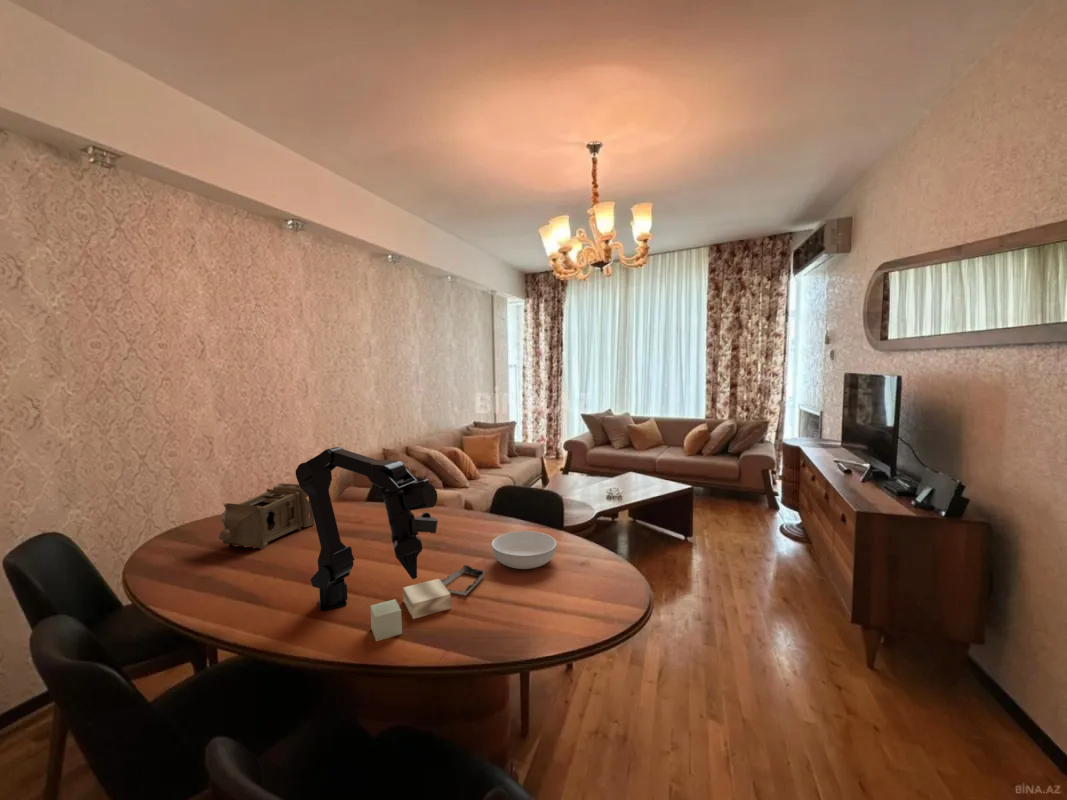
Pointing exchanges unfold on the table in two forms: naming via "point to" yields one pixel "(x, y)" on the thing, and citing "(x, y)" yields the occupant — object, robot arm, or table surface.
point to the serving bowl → (524, 549)
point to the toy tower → (266, 516)
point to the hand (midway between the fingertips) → (412, 573)
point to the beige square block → (426, 598)
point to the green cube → (386, 620)
